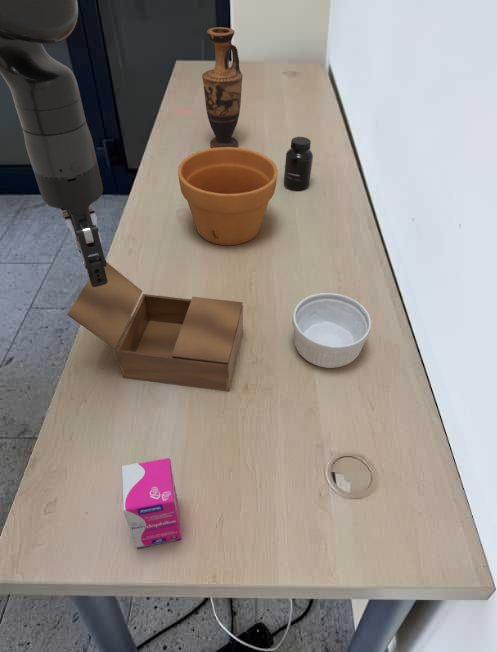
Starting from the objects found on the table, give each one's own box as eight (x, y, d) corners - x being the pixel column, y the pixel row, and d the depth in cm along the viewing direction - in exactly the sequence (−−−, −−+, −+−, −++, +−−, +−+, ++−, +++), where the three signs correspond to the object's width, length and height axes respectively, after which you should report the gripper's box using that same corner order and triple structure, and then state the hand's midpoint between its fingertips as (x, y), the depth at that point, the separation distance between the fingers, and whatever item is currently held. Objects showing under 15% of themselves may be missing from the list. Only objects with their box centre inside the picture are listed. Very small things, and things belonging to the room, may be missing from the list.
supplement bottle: (287, 192, 125) (290, 147, 116) (280, 180, 130) (283, 135, 121) (312, 190, 126) (318, 145, 117) (305, 177, 131) (309, 133, 122)
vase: (213, 156, 139) (208, 38, 118) (200, 141, 146) (194, 27, 125) (248, 150, 142) (249, 34, 121) (234, 135, 149) (233, 23, 128)
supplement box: (136, 551, 61) (120, 510, 53) (134, 506, 65) (119, 462, 57) (182, 542, 62) (174, 501, 54) (178, 498, 66) (169, 454, 58)
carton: (229, 391, 79) (228, 362, 74) (122, 377, 81) (114, 348, 76) (242, 331, 89) (243, 302, 84) (147, 320, 91) (142, 290, 86)
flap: (67, 313, 72) (66, 314, 72) (115, 348, 76) (114, 348, 76) (101, 258, 82) (101, 259, 82) (142, 290, 86) (141, 291, 86)
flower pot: (292, 227, 113) (298, 167, 103) (230, 267, 102) (229, 205, 92) (227, 195, 123) (226, 138, 113) (164, 229, 112) (156, 169, 102)
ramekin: (364, 379, 81) (372, 351, 76) (286, 369, 82) (288, 341, 78) (363, 325, 90) (370, 296, 85) (293, 316, 92) (296, 288, 87)
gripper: (24, 142, 62) (57, 247, 73) (41, 194, 53) (76, 304, 64) (83, 132, 64) (107, 235, 76) (109, 180, 55) (131, 289, 67)
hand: (93, 267), depth 70 cm, fingers open, 8 cm apart
